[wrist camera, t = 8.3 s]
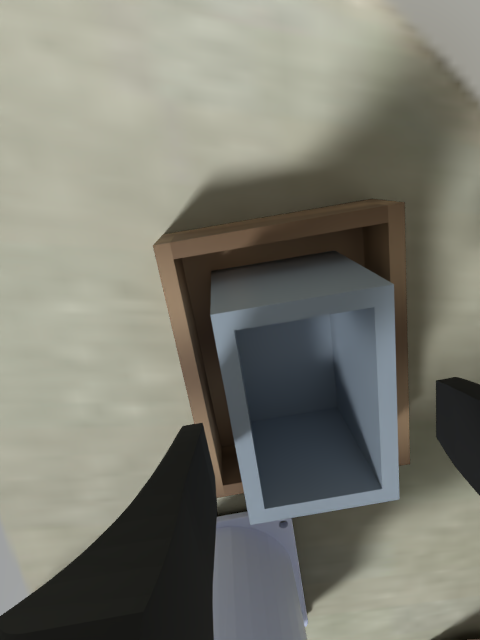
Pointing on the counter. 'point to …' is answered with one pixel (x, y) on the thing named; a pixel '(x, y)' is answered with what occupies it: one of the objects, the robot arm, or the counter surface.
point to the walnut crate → (262, 246)
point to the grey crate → (309, 383)
